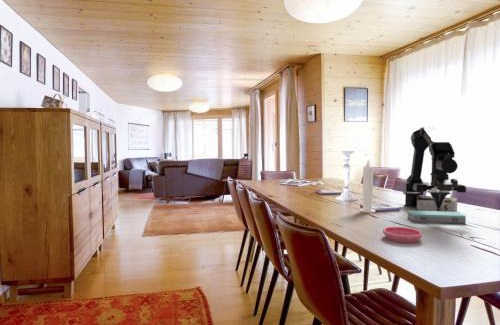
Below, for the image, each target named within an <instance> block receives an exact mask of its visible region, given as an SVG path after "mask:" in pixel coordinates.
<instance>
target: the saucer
mask: <svg viewBox="0 0 500 325" xmlns="http://www.w3.org/2000/svg"><path fill="white" fill-rule="evenodd" d="M382 233H383V234H384V236H385V237H386V239H387V240H389V241H392V242H394V241H395V242H396V243H399V242H400V243H401V244H414V243H417V242H418V240H420V239H421V238H422V237H423V232H421V230H418V229H414V228H409V227H404V226H388V227H387V226H386V227H384V228H382ZM395 242H394V243H395Z"/></svg>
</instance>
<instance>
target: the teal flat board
mask: <svg viewBox="0 0 500 325" xmlns="http://www.w3.org/2000/svg"><path fill="white" fill-rule="evenodd" d="M407 218H408V219H409V220H410V221H411V222H413V223H431V224H432V223H433V224H434V223H437V224H458V225H459V224H461V225H466V224H467V223H466V222H467V220H466V219H467V217H466V218H456V217H427V216H413V215H411V214H410V213H408V212H407Z"/></svg>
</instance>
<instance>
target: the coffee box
mask: <svg viewBox="0 0 500 325" xmlns="http://www.w3.org/2000/svg"><path fill="white" fill-rule="evenodd" d="M416 211H444V212H458V198H457V197H456V198H455V197H447V196H446V197H445V198H444V200H443V202H442V204H441V207H440V208H437V207H436V205H435V202H434V200H433V198H432V196H431V195H424V194H423V195H420V196H419V197H417V207H416Z"/></svg>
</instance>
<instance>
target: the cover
mask: <svg viewBox="0 0 500 325" xmlns="http://www.w3.org/2000/svg"><path fill="white" fill-rule="evenodd" d="M408 213H410V214H411V215H413V216H427V217H456V218H466V219H467V217H466V214H463V213H461V212H458V211H456V212H444V211H424V210H412V209H411V210H407V214H408Z"/></svg>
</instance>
